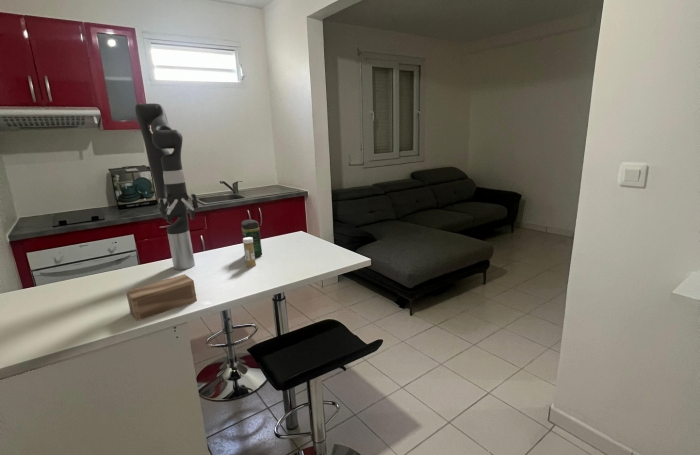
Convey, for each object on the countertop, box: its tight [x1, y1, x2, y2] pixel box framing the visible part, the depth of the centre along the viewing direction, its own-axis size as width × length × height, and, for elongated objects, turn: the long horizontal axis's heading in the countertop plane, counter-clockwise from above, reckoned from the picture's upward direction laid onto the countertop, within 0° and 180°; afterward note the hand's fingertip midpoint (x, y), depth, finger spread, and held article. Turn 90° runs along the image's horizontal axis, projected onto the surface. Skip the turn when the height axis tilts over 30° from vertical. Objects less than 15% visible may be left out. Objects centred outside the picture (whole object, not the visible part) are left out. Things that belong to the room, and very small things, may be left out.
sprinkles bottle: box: [242, 237, 257, 268], centre depth 165 cm, size 5×5×14 cm
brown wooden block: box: [125, 273, 198, 322], centre depth 128 cm, size 9×20×8 cm, turn 133°
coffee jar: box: [240, 218, 263, 259], centre depth 178 cm, size 10×8×19 cm
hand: (181, 221), depth 146 cm, fingers open, 8 cm apart
